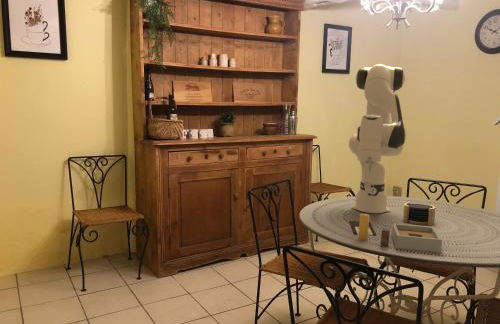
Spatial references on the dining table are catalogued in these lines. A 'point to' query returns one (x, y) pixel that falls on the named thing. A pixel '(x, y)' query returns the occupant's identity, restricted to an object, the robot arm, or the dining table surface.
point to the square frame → (416, 238)
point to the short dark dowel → (385, 237)
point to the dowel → (363, 227)
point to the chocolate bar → (356, 228)
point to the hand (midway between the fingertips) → (366, 190)
